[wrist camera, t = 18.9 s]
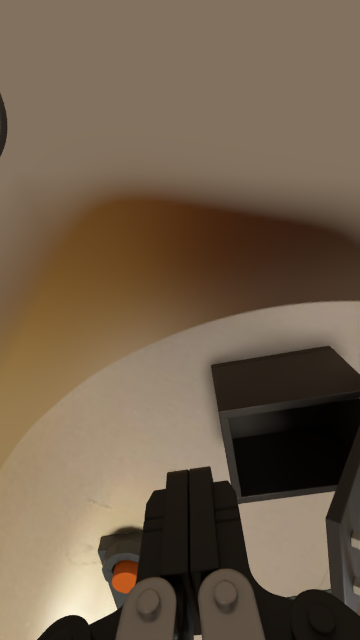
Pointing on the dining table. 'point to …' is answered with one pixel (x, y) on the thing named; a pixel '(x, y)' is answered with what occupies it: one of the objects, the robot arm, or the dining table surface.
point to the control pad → (118, 557)
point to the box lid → (346, 532)
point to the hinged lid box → (287, 422)
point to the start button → (124, 575)
